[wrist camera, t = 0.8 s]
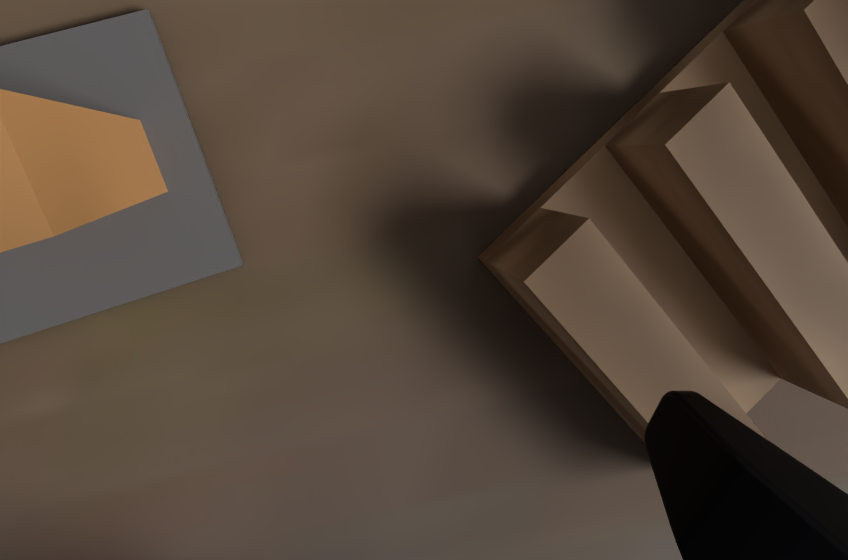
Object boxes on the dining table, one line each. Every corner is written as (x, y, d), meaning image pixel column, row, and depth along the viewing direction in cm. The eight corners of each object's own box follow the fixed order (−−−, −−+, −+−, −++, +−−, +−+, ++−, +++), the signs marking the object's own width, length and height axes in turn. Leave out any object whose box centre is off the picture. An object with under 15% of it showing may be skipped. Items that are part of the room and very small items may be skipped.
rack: (666, 468, 30) (741, 529, 25) (477, 257, 26) (523, 281, 21) (906, 231, 30) (1025, 246, 25) (758, -15, 26) (867, -52, 21)
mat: (243, 263, 24) (242, 265, 23) (-11, 345, 22) (-16, 348, 22) (150, 11, 21) (147, 8, 21) (-140, 84, 20) (-148, 83, 19)
